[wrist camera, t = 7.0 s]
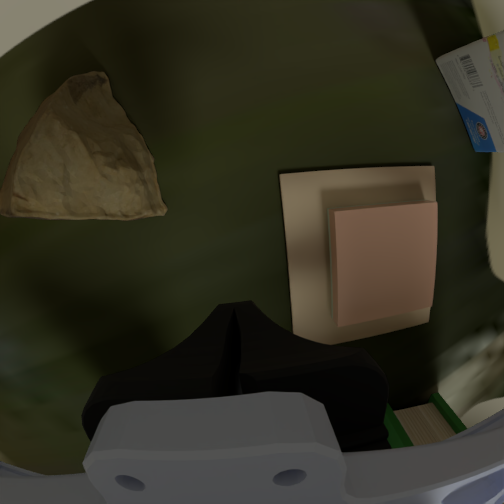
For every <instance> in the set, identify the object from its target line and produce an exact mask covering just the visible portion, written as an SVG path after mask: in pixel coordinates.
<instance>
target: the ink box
mask: <svg viewBox="0 0 504 504" xmlns="http://www.w3.org/2000/svg"><path fill="white" fill-rule="evenodd" d="M436 63H437V65H438V67H439V69H440V71H441V73H442V75H443V77H444V79H445V81H446V83H447V85H448V87H449V89H450V91H451V94H452V96H453V98H454V100H455V102H456V104H457V107H458V109H459V112H460V114H461V116H462V119H463V121H464V124H465V126H466V129H467V131H468V134H469V137H470V139H471V142H472V145H473V148H474V150H475V151H476V152H504V31H501V32H498V33H495V34H493V35H490V36H488V37H485V38H483V39H480V40H478V41H475V42H473V43H470V44H468V45H466V46H463V47H461V48H458V49H456V50H453V51H451V52H449V53H447V54H444V55H442V56H440V57H439V58H437V59H436Z"/></svg>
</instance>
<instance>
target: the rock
mask: <svg viewBox="0 0 504 504" xmlns="http://www.w3.org/2000/svg"><path fill="white" fill-rule="evenodd" d="M166 211H167V206H166V205H165V203H164V202H163V200H162V198H161V193H160V189H159V185H158V182H157V172H156V169H155V166H154V157H153V156H152V155H151V153H150V151H149V150H148V148H147V146H146V144H145V142H144V139H143V137H142V135H141V134H139V132H138V131H137V129H136V127H135V126H134V124H131V123H130V121H129V119H128V118H127V116H126V112H125V111H124V109H123V108H122V107H121V106H120V104H119V103H117V102H116V101H115V99H114V98H113V97H112V91H111V87H110V82H109V79H108V77H107V76H106V74H105V73H104V72H96V71H91V72H89V73H86V74H79V75H74V76H72V77H70V78H69V79H67V80H66V81H65V82H64V83H63V84H62V85H61V86H60V87H59V88H58V89H57V90H56V91H55V92H54V93H53V94H51V95H50V96H48V97H47V98H46V99H45V100H43V102H42V103H41V105H40V106H39V108H38V110H37V111H36V113H35V114H34V116H33V117H32V118H31V119H30V120H29V122H28V124H27V125H26V126H25V127H24V129H23V131H22V132H21V133H20V135H19V137H18V140H17V147H16V151H15V152H14V154H13V156H12V158H11V160H10V163H9V166H8V169H7V172H6V175H5V179H4V182H3V185H2V188H1V190H0V214H2V215H3V216H6V217H24V218H36V219H45V220H50V219H51V220H84V219H103V220H107V219H111V220H123V221H127V220H137V219H142V218H147V217H153V216H159V215H161V216H163V215H165V213H166Z"/></svg>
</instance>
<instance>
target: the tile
mask: <svg viewBox="0 0 504 504" xmlns="http://www.w3.org/2000/svg"><path fill="white" fill-rule="evenodd" d="M327 217H328V232H329V251H330V274H331V317H332V319H333V320H334V322H335V323H336V325H337V326H338V327H342V326H347V325H352V324H357V323H362V322H367V321H372V320H376V319H381V318H385V317H390V316H394V315H399V314H403V313H407V312H411V311H415V310H419V309H423V308H427V307H431V306H432V302H433V293H434V282H435V270H436V253H437V202H434V201H430V200H413V201H401V202H389V203H377V204H366V205H356V206H345V207H335V208H327Z"/></svg>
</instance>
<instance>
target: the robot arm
mask: <svg viewBox="0 0 504 504" xmlns="http://www.w3.org/2000/svg"><path fill="white" fill-rule="evenodd" d="M388 398H389V383H388V380H387V377H386V375H385V374H384V372H383V371H382V369H381V368H380V366H379V365H378V364H377V363H376V361H375V360H374V359H373V358H372V357H371V356H370V355H369V353H368V352H367V351H366V350H365V349H364V348H357V347H342V346H334V345H328V344H323V343H319V342H315V341H312V340H309V339H306V338H303V337H300V336H298V335H295V334H293V333H291V332H289V331H287V330H285V329H283V328H282V327H280V326H279V325H277V324H276V323H274V322H273V321H272V320H271V319H269V318H268V317H267V316H266V315H265V314H264V313H263V312H262V311H261V310H260V309H259V308H258V307H257V306H256V305H255V303H254V302H252V301H243V302H235V303H227V304H219V305H218V306H217V307H216V308H215V309H214V310H213V312H212V313H211V314H210V315H209V316H208V318H207V319H206V320H205V321H204V322H203V323H202V324H201V325H200V326H199V327H198V328H197V329H196V330H195V331H194V332H193V333H192V334H191V335H190V336H189V337H188V338H186V339H185V340H184V341H183V342H181V343H180V344H178V345H177V346H176V347H174V348H173V349H171V350H169V351H168V352H166V353H164V354H162V355H161V356H159V357H157V358H155V359H153V360H151V361H149V362H147V363H144V364H142V365H139V366H137V367H134V368H131V369H128V370H125V371H122V372H118V373H114V374H111V375H107V376H102V377H100V379H99V381H98V383H97V384H96V386H95V388H94V390H93V392H92V394H91V396H90V397H89V399H88V401H87V403H86V405H85V407H84V410H83V413H82V425H83V428H84V430H85V432H86V434H87V436H88V438H89V439H90V441H91V444H90V446H89V449H88V451H87V453H86V456H85V458H84V461H83V466H84V468H85V471H86V473H79V474H67V475H50V476H46V475H42V474H38V473H35V472H31V471H28V470H25V469H22V468H19V467H15V466H12V465H10V464H7V463H4V462H1V461H0V504H502V503H504V409H502V410H501V411H499V412H497V413H496V414H494V415H492V416H491V417H489V418H487V419H485V420H483V421H482V422H480V423H478V424H476V425H474V426H472V427H470V428H468V429H466V430H464V431H462V432H460V433H458V434H456V435H454V436H452V437H450V438H448V439H445V440H443V441H441V442H435V443H430V444H424V445H417V446H410V447H403V448H395V449H392V448H391V446H390V444H389V442H388V440H387V438H388V436H389V432H388V430H387V428H386V426H385V424H384V418H385V413H386V409H387V403H388Z"/></svg>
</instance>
